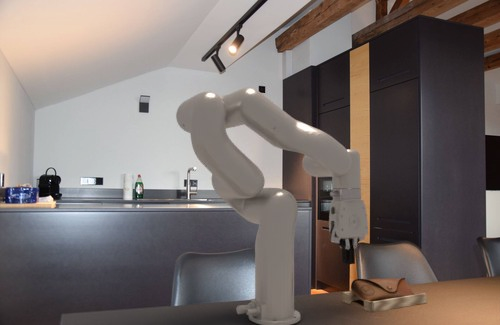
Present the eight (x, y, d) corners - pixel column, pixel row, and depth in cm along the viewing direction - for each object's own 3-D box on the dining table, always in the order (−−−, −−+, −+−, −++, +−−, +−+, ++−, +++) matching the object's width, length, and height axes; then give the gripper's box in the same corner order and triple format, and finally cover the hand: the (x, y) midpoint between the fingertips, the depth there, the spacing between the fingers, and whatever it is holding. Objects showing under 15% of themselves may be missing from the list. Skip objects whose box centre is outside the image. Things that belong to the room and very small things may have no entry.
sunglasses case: (366, 303, 116) (363, 277, 118) (352, 303, 122) (349, 279, 124) (421, 300, 121) (416, 275, 124) (405, 300, 128) (401, 277, 130)
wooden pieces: (371, 312, 111) (371, 302, 111) (342, 301, 121) (342, 292, 122) (426, 302, 120) (426, 293, 121) (394, 293, 131) (394, 285, 131)
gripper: (333, 196, 110) (335, 269, 109) (377, 194, 116) (379, 262, 116) (316, 195, 116) (317, 264, 116) (358, 193, 123) (360, 258, 122)
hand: (348, 263), depth 116 cm, fingers closed
